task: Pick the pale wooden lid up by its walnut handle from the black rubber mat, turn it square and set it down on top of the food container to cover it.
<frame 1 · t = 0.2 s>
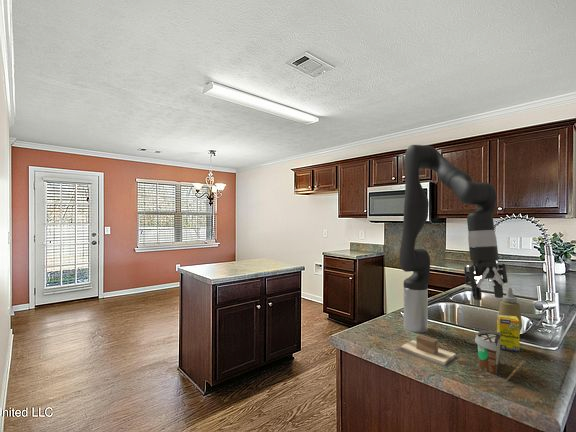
hand: (488, 298, 96), 22 cm above the worktop, tool pointing down, fingers open, 8 cm apart
mat: (427, 354, 107), on the worktop
food container: (486, 367, 98), on the worktop
squeeze bottle: (509, 333, 126), on the worktop
supplement box: (508, 348, 112), on the worktop
lid: (427, 353, 107), resting on mat
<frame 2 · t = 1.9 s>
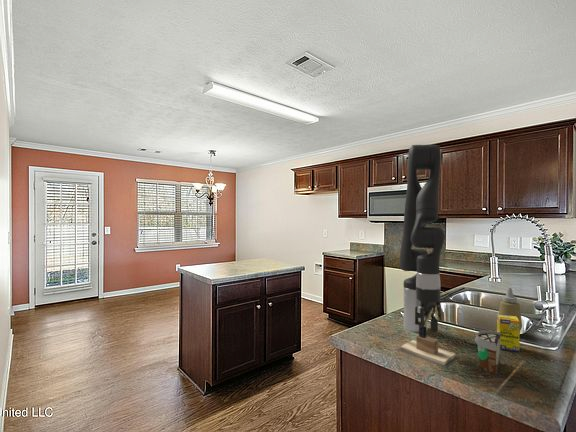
hand: (428, 334, 106), 7 cm above the worktop, tool pointing down, fingers open, 8 cm apart
nothing on the worktop moved.
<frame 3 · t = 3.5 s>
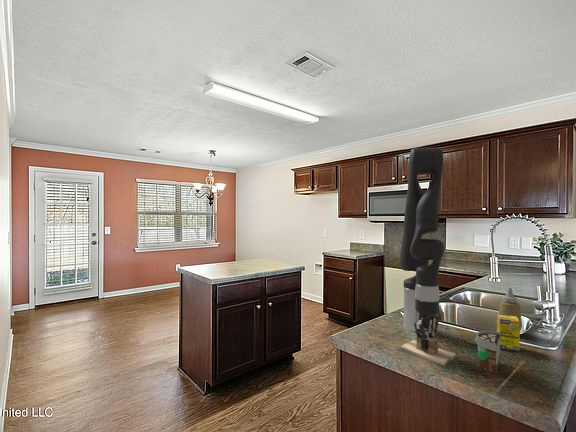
hand: (427, 348, 107), 2 cm above the worktop, tool pointing down, fingers closed on lid, 3 cm apart
lid: (427, 353, 107), point 1 cm above the worktop, touching gripper, mat
everything else where it was.
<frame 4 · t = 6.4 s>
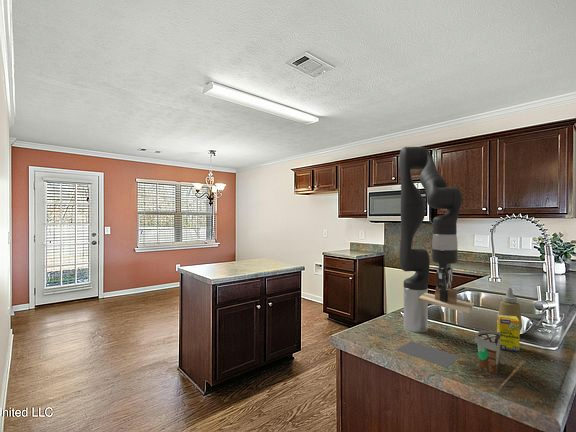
hand: (444, 300, 104), 19 cm above the worktop, tool pointing down, fingers closed on lid, 3 cm apart
lid: (445, 303, 103), point 18 cm above the worktop, touching gripper
everything else where it was.
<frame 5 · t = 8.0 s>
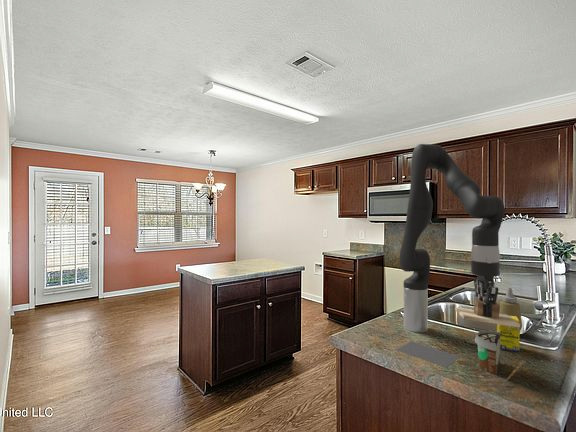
hand: (485, 314, 98), 16 cm above the worktop, tool pointing down, fingers closed on lid, 3 cm apart
lid: (485, 318, 98), point 15 cm above the worktop, tilted 5°, touching gripper
everything else where it was.
when the fingers open (13 cm above the worktop, at t = 9.3 s): lid drops 2 cm, resting on food container.
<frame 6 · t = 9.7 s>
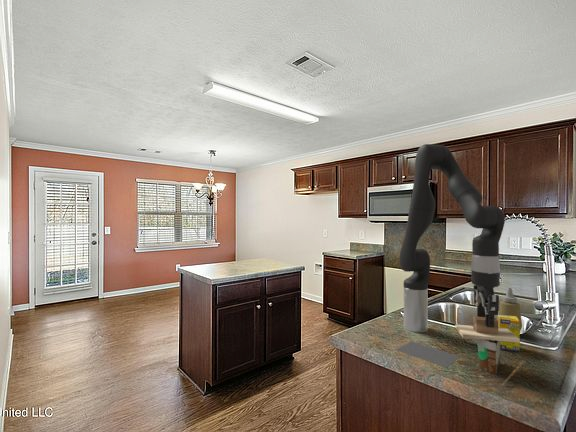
hand: (485, 322, 98), 14 cm above the worktop, tool pointing down, fingers open, 6 cm apart
food container: (486, 367, 98), on the worktop, touching lid
lid: (485, 334, 98), point 10 cm above the worktop, touching food container
everything else where it was.
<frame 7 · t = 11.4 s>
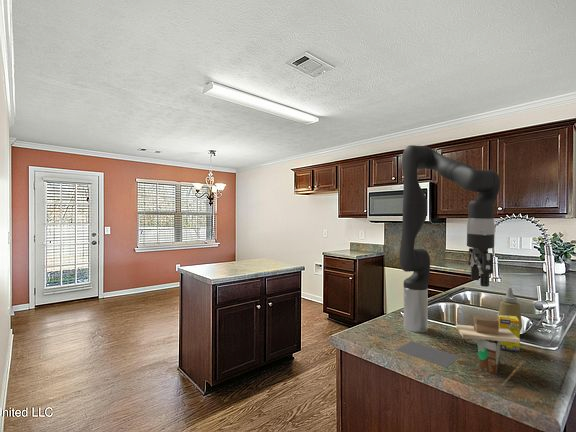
hand: (479, 283, 101), 26 cm above the worktop, tool pointing down, fingers open, 8 cm apart
nothing on the worktop moved.
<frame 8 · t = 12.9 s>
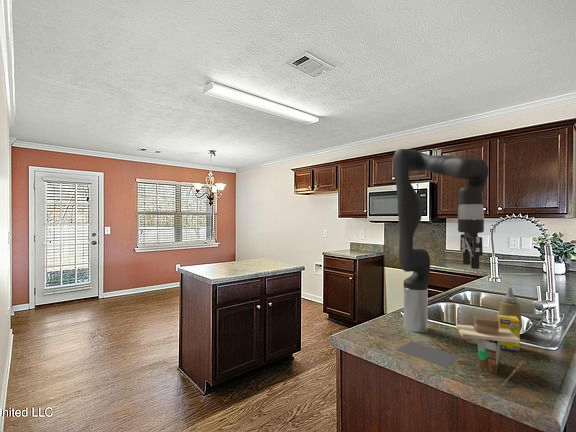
hand: (470, 266, 105), 30 cm above the worktop, tool pointing down, fingers open, 8 cm apart
nothing on the worktop moved.
at the end: lid 0.4 cm off-centre on the food container, point 10.2 cm above the food container's base; lid tilted 0°; food container tilted 0° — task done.
